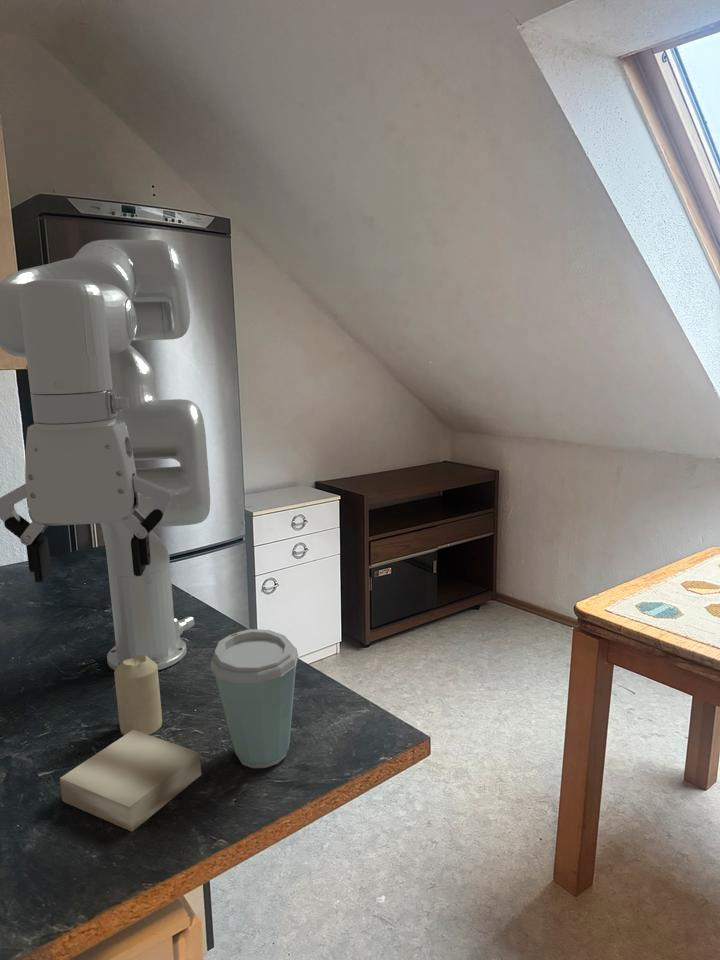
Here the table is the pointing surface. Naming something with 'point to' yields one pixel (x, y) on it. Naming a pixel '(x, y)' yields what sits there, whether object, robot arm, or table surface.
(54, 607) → the table surface
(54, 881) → the table surface
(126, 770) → the plinth
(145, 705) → the candle
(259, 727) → the disposable coffee cup
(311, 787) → the table surface
